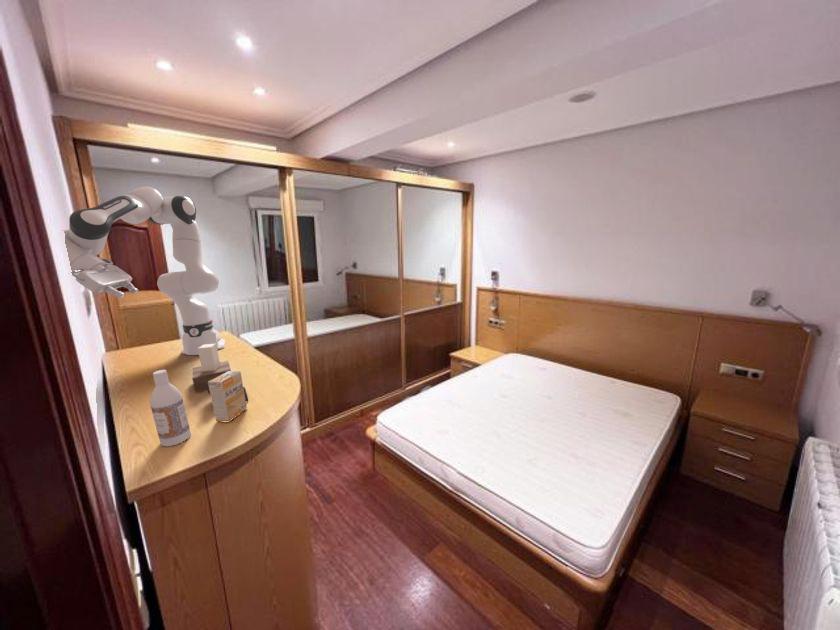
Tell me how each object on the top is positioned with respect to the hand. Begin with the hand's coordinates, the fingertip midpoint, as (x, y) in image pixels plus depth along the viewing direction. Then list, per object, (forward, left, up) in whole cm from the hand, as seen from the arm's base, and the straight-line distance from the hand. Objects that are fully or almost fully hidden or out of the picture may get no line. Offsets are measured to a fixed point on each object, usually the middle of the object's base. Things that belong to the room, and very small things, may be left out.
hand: (129, 294), depth 123 cm
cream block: (+6, +22, -30) cm, 38 cm away
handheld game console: (+23, +32, -36) cm, 53 cm away
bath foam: (+45, +23, -36) cm, 62 cm away
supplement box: (+36, +35, -36) cm, 62 cm away
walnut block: (+6, +22, -36) cm, 43 cm away
